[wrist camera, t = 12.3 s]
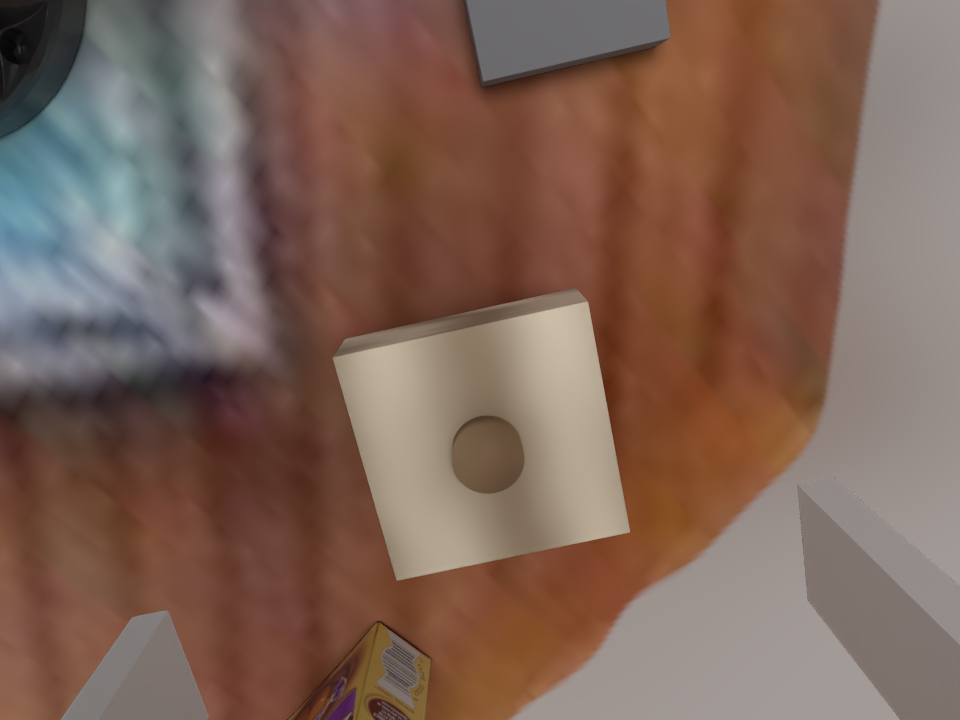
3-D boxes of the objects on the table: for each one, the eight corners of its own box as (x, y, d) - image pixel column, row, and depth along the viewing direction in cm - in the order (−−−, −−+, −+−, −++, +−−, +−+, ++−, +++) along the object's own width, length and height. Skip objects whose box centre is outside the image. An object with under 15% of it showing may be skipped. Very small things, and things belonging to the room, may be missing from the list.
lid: (402, 544, 33) (394, 597, 29) (344, 339, 31) (326, 366, 27) (615, 499, 33) (636, 547, 29) (575, 287, 30) (593, 307, 26)
